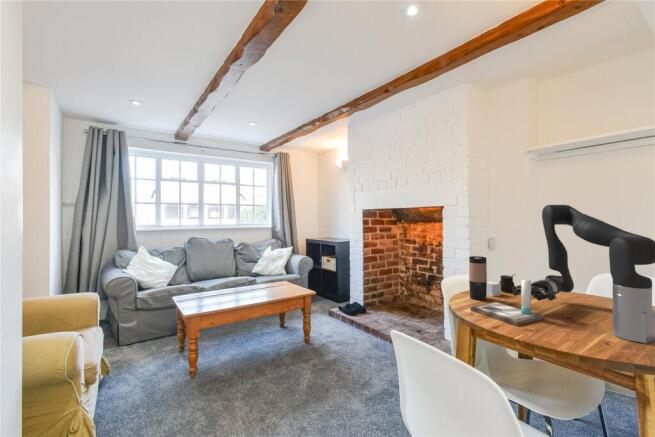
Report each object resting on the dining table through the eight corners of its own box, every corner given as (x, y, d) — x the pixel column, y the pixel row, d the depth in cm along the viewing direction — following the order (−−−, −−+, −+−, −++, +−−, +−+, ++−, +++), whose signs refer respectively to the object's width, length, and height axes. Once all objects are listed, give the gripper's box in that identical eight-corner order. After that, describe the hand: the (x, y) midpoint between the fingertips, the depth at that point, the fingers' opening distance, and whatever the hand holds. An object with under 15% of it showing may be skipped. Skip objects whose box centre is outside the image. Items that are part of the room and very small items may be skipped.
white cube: (500, 295, 152) (500, 283, 152) (492, 296, 150) (492, 284, 150) (490, 292, 158) (490, 280, 158) (481, 293, 156) (481, 282, 156)
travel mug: (488, 298, 147) (488, 257, 147) (484, 301, 142) (483, 259, 141) (472, 295, 153) (472, 255, 152) (467, 298, 147) (466, 257, 147)
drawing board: (543, 319, 118) (543, 314, 118) (516, 326, 112) (516, 321, 112) (496, 305, 136) (496, 301, 136) (470, 310, 130) (470, 306, 130)
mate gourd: (499, 288, 164) (499, 270, 164) (516, 290, 160) (516, 272, 159) (497, 291, 158) (497, 272, 158) (514, 294, 154) (514, 274, 154)
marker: (533, 313, 119) (533, 281, 119) (527, 315, 118) (527, 282, 118) (524, 311, 122) (524, 279, 122) (519, 312, 121) (519, 280, 121)
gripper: (524, 277, 135) (506, 282, 126) (563, 283, 123) (546, 289, 114) (524, 294, 135) (506, 300, 126) (563, 301, 123) (546, 309, 114)
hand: (525, 295), depth 120 cm, fingers open, 8 cm apart
